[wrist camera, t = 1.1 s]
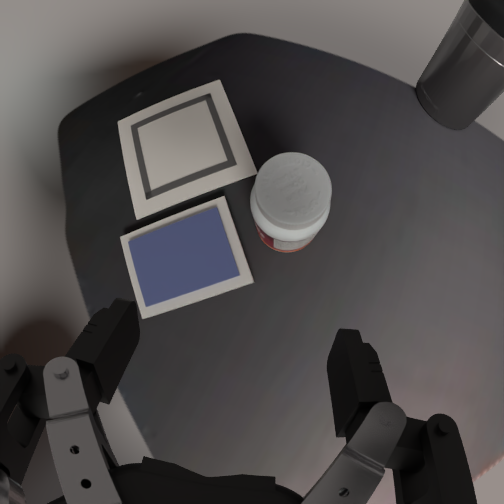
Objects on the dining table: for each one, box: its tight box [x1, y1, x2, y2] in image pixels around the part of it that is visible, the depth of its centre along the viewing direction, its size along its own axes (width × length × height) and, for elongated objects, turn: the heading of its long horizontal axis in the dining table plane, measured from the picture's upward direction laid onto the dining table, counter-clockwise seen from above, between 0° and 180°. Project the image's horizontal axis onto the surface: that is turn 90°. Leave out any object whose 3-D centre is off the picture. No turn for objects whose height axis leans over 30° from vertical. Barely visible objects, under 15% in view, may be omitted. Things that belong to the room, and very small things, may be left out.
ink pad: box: [120, 196, 254, 319], centre depth 30 cm, size 12×9×2 cm
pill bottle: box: [250, 152, 332, 252], centre depth 25 cm, size 6×6×11 cm
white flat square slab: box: [118, 80, 258, 220], centre depth 33 cm, size 14×14×1 cm
